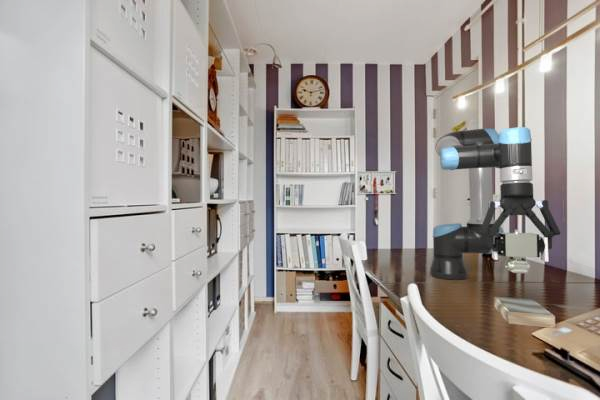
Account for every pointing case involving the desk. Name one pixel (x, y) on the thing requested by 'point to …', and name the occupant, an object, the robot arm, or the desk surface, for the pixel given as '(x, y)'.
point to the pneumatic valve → (518, 249)
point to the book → (523, 312)
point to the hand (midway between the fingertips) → (519, 259)
